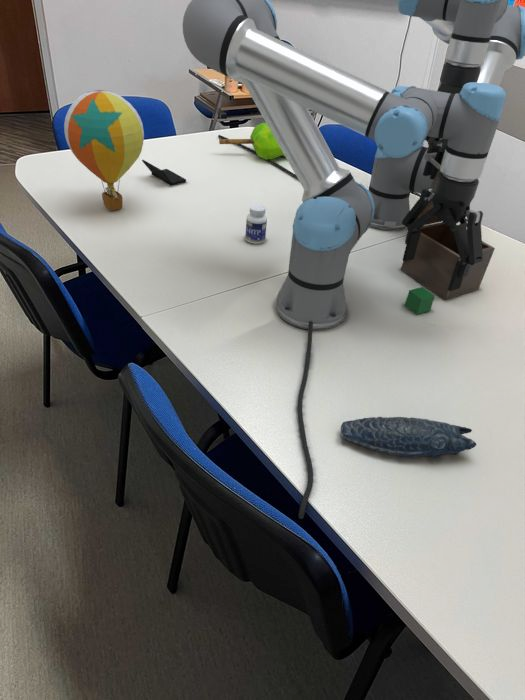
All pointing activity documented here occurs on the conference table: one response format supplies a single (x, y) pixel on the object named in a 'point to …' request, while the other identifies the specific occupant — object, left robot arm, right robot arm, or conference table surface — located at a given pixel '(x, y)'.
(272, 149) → the decorative tree
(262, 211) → the pill bottle
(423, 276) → the chest
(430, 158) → the lid
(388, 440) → the fish model
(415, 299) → the block
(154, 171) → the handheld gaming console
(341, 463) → the conference table surface
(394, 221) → the right robot arm
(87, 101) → the toy
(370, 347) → the conference table surface
